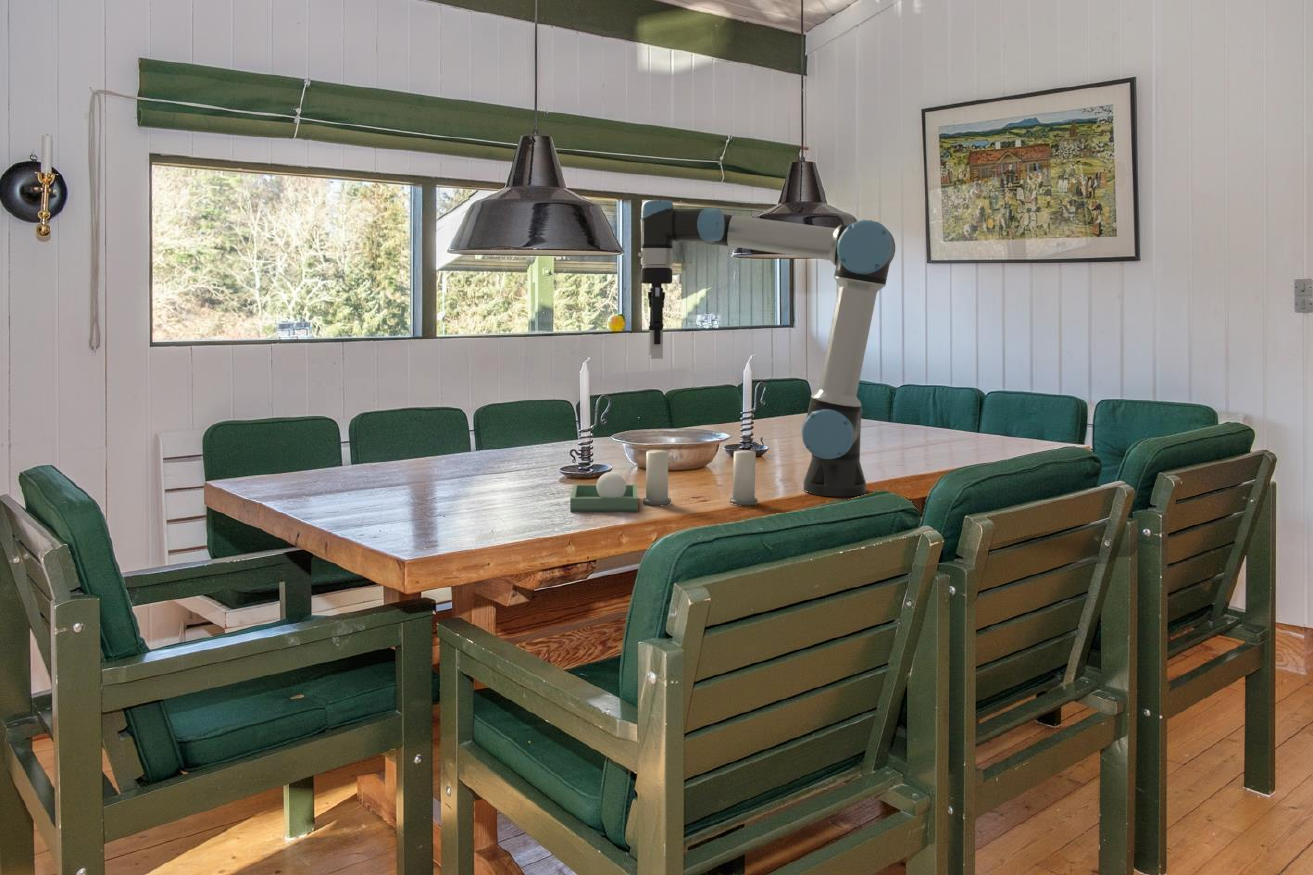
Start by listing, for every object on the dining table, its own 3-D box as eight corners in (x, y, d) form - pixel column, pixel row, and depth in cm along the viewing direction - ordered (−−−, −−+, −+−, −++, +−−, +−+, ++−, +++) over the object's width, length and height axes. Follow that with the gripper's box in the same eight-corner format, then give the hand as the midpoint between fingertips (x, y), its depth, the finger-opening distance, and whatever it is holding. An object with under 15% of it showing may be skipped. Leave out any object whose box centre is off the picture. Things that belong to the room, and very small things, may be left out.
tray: (636, 497, 255) (636, 484, 255) (637, 511, 238) (637, 498, 238) (573, 497, 255) (573, 484, 254) (570, 511, 238) (570, 498, 238)
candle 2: (755, 500, 252) (756, 450, 250) (759, 506, 245) (760, 454, 244) (728, 500, 252) (729, 449, 250) (731, 506, 245) (732, 454, 244)
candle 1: (670, 500, 251) (670, 449, 250) (671, 506, 245) (671, 453, 243) (642, 500, 251) (643, 449, 249) (643, 506, 245) (643, 453, 243)
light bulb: (603, 475, 249) (613, 462, 239) (623, 495, 249) (635, 483, 239) (583, 494, 246) (593, 482, 236) (604, 514, 246) (615, 503, 236)
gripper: (639, 267, 268) (639, 353, 270) (641, 265, 243) (641, 360, 246) (670, 268, 268) (669, 353, 271) (675, 266, 243) (674, 360, 246)
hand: (655, 356), depth 258 cm, fingers open, 13 cm apart
